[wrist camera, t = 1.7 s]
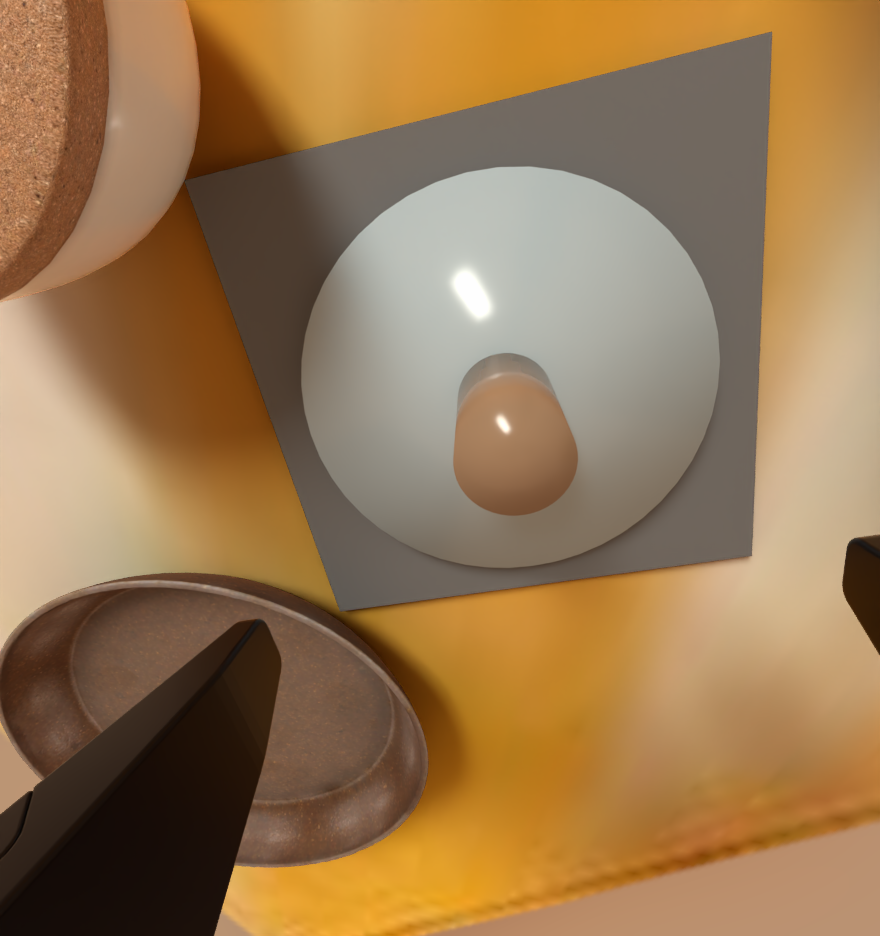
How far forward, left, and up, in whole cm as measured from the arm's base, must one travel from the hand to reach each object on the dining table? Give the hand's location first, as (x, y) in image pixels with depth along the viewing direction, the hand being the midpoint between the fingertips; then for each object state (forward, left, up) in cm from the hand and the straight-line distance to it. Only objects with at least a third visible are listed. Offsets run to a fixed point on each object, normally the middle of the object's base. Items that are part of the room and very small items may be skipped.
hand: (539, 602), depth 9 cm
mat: (0, 0, -11) cm, 11 cm away
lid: (0, 0, -11) cm, 11 cm away
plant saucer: (+14, +12, -11) cm, 22 cm away
